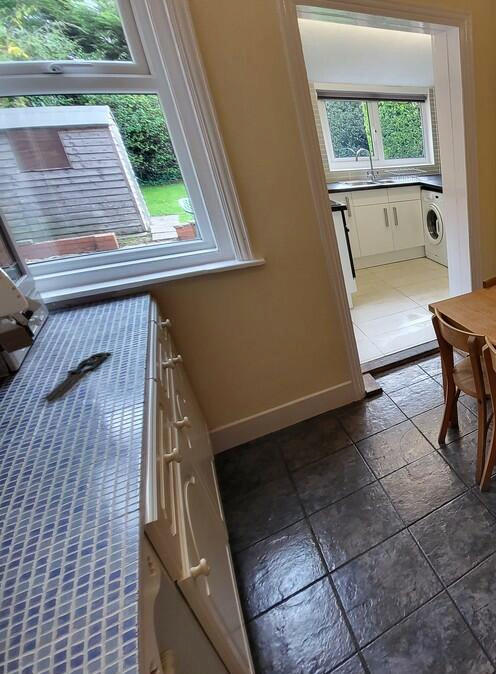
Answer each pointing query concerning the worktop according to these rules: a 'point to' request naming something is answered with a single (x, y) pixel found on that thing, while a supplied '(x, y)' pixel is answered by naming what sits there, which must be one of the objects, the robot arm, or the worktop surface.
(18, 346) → the walnut bar
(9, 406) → the worktop surface
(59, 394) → the knife
